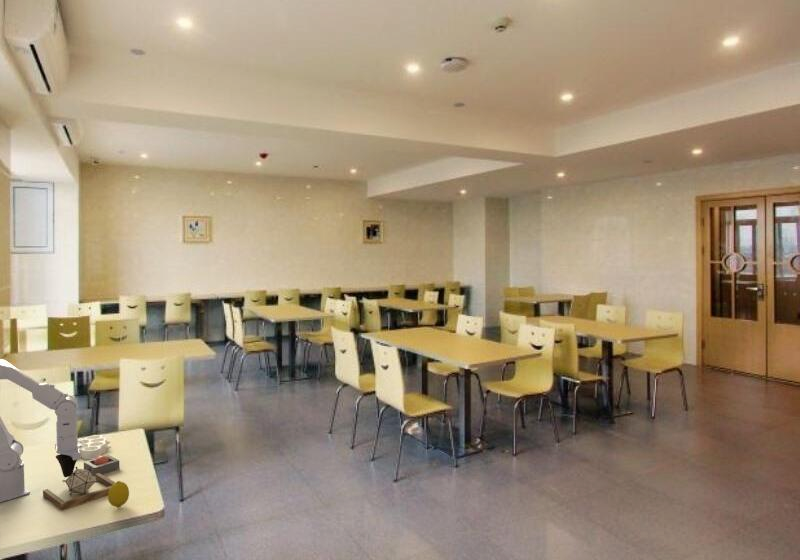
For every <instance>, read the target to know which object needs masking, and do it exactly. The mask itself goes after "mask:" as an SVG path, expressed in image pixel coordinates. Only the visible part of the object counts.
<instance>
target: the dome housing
mask: <svg viewBox="0 0 800 560" xmlns="http://www.w3.org/2000/svg"><path fill="white" fill-rule="evenodd" d="M105 456H106V457H107V458H108V459H109V462H108V463H105V464H101V465H98V466H96V465H94V462H95V459H96V458H94V459H87V460H85V461H83V469H86V470H89V469H90V468H91V470H90V471H91V473H92V475H93V477H94V478H95V474H97V473H100V474H102V475H104V473H105V474H109V473H111V472H114V471H117V469H118V470H120V460H119V459H117V458H116V457H113V456H112V455H110V454H105Z"/></svg>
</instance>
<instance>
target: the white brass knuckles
mask: <svg viewBox="0 0 800 560" xmlns="http://www.w3.org/2000/svg"><path fill="white" fill-rule="evenodd" d="M111 442H112V441H108V440H107V438H105V437H104V435H102V434H94V435H89V436H87V437H85V438H83V439H78V444H80V445H82V447H81V448H79V452H80V457H82V459H83V458H84V459H83V460H92V459H95V458H97V457H99V456H102V455H103V453H105V452H107V450H108V449H110V448H111V446H108V445H109V444H110V443H111Z"/></svg>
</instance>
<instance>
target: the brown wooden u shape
mask: <svg viewBox="0 0 800 560" xmlns="http://www.w3.org/2000/svg"><path fill="white" fill-rule="evenodd" d="M94 479H95V481H98V482H97V483H100V484H101V485H103V486H104V487H103V488H101V489H98V490H95V491H92V492H89V493H85V495H84V494H81V495H80V496H76V497H74V498H70V499H67V500H64V499H62V498H61V497H59V496H58V495H57V494H56V493H54V492H52V491H51V490H49V489H48V488H46V489H43V490H42V497H43V498H44V499H45V500H47V501H48V502H49V503H51V504H52V505H53V506H55V507H56V508H58V510H61V511H62V510H63V511H65V509H66V510H69V509H71V508H70V507H72V508H74V507H77V506H79V504H80V505H83V504H86V503H88V502H87V501H89V502H92V501H94V500H97V499H101V498H103V497H106V496H108V492H109V489H110V487H111V486H112V485H113V484H114V483H116V482H115V481H114V480H112V479H111V478H109V477H107V476H105V475H104V474H100V473H97V474H95V477H94ZM91 500H92V501H91ZM85 502H86V503H85ZM82 503H83V504H82ZM76 505H77V506H76ZM73 506H74V507H73ZM68 508H69V509H68Z"/></svg>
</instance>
